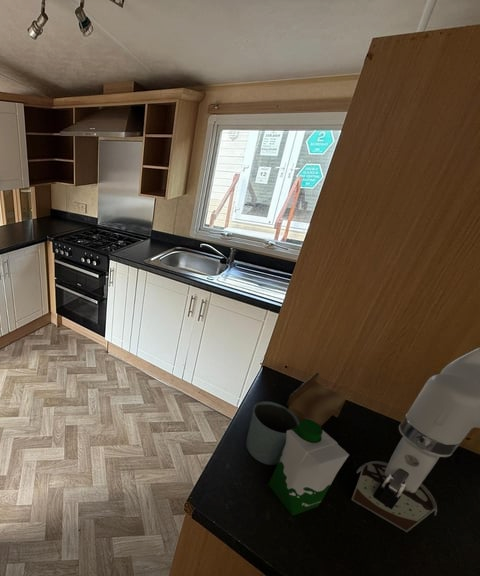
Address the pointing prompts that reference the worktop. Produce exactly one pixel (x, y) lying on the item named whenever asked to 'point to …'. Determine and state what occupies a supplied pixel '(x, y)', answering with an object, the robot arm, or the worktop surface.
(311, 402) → the paper bag
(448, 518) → the worktop surface
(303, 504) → the milk carton
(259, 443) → the grey cup
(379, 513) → the food container
